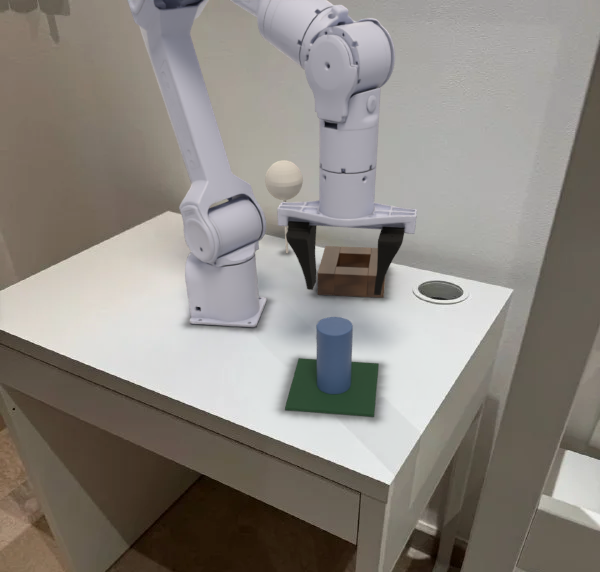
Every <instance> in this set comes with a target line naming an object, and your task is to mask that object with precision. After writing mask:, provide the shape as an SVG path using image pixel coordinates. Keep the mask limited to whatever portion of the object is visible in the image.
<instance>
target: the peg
mask: <svg viewBox="0 0 600 572" xmlns="http://www.w3.org/2000/svg"><path fill="white" fill-rule="evenodd" d="M353 326H354V325H353V323H352V322H351V321H350V320H349V319H347V318H345V317H342V316H341V317H340V316H328V317H323V318H322V319H320V320H319V321H317V323H316V326H315V327H316V328H315V329H316V331H315V333H316V334H315V335H316V336H315V337H316V338H315V339H316V340H315V341H316V342H315V343H316V345H315V346H316V347H315V348H316V359H317V387H318V388H319V389H320V390H321V391H322V392H324V393H327V394H341V393H344V392H346V391H347V390H348V389H349V388H350V386H351V365H352V362H353V360H352V359H353V335H354V332H353V329H354V327H353Z"/></svg>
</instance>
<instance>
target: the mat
mask: <svg viewBox="0 0 600 572" xmlns="http://www.w3.org/2000/svg"><path fill="white" fill-rule="evenodd" d="M379 365H380V363H378V362H363V361H362V362H361V361H352V365H351V386H350V388H349V389H348V390H347V391H346V392H344V393H341V394H327V393H324V392H322V391H321V390H320V389H319V388H318V387H317V358H301V357H300V358H298V359H297V362H296V366H295V370H294V374H293V376H292V377H293V378H292V381H291V384H290V387H289V392H288V396H287V399H286V403H285V406H284V410H285V411H291V412H293V411H294V412H306V413H318V414H331V415H344V416H357V417H370V418H375V413H376V412H375V410H376V401H377V400H376V398H377V389H378V377H379V367H380V366H379Z"/></svg>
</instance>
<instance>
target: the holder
mask: <svg viewBox="0 0 600 572" xmlns="http://www.w3.org/2000/svg"><path fill="white" fill-rule="evenodd" d="M377 259H378V247H367V246H366V247H364V246H340V245H339V246H338V245H337V246H335V245H324V250H323V253H322V256H321V259H320V263H319V266H318V269H317V272H316V282H317V295H318V296H320V295H322V296H336V297H337V296H339V297H358V298H379V299H380V298H382V299H383V298H385V287H386V278H387V277H386V276H387V274H386V275H385V278H384V281H383V285H382V291H381V295H374V287H375V281H376V274H377Z"/></svg>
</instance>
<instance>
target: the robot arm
mask: <svg viewBox="0 0 600 572" xmlns="http://www.w3.org/2000/svg"><path fill="white" fill-rule="evenodd" d="M209 1H210V0H126V2H127V4H128V7H129V11H130V12H131V16H132V19H133V22H134V23H135V24H136V25H137V26H138V27H139V31H140V34H141V38H142V40H143V43H144V46H145V50H146V52H147V55H148V58H149V61H150V65H151V68H152V71H153V73H154V77H155V79H156V82H157V85H158V88H159V91H160V94H161V97H162V100H163V103H164V107H165V109H166V112H167V116H168V119H169V122H170V124H171V127H172V131H173V134H174V136H175V140H176V143H177V145H178V148H179V152H180V154H181V158H182V161H183V164H184V166H185V170H186V173H187V176H188V179H189V182H190V187H189V189H188V191H187V192H186V194H185V196H184V197H183V199H182V200H181V202H180V204H179V206H178V208H179V212H180V215H181V219H182V224H183V238H184V241H185V244H186V246H187V248H188V250H189V251H190V252H189V253H188V255H187V257H186V261H185V264H184V265H185V266H184V281H185V287H186V293H187V301H188V306H189V312H190V318H189V323H190V324H193V325H209V326H227V327H241V328H242V327H243V328H256V327H257V326H258V323H259V322H260V318H261V316H262V313H263V312H264V309H265V306H266V304H267V302H268V298H267V297H266V296H259V283H258V272H257V257H256V253H257V251H258V250H260V242H259V241H261V240H262V239H263V238H264V237H265V235H266V232H267V219H266V215H265V213H264V210H263V208H262V206H261V205H260V203H259V202H258V200H257V199H256V196H255V194H254V191H253V187H252V184H251V183H249V182H248V181H246V180H245V179H243V178H241V177H239V176H238V175H236V174H234V173H233V171H232V168H231V165H230V161H229V158H228V154H227V151H226V148H225V145H224V142H223V141H224V140H223V139H222V135H221V132H220V129H219V125H218V122H217V118H216V115H215V112H214V108H213V105H212V102H211V98H210V96H209V92H208V89H207V85H206V82H205V79H204V76H203V72H202V69H201V65H200V62H199V59H198V56H197V53H196V49H195V45H194V43H193V39H192V35H191V31H192V28H193V25H194V22H195V21H196V19H198V18H199V17H200V16H201V15H202V13H203V11H204V9H205V8H206V6H207V4H208V3H209ZM229 1H230V2H232V3H233V4H234V5H236V6H238V7H239V8H240V9H242V10H243V11H245V12H247V13H248V14H250V15H252V16H253V17H255V18H256V23H257V29H258V32H259V34H260V36H261V38H262V39H263V40H264V41H265V42H267V43H268V44H270V46H272V47H273V48H275V49H276V50H277V51H278V52H280V53H281V54H283V55H284V56H285V57H286V58H288V59H289V60H291V61H292V62H293V63H294V64H296V65H297V66H298V67H300V68H301V69H302V70H304V73H305V74H304V75H305V78H306V81H307V83H308V86H309V88H310V90H311V92H312V93H313V99H314V112H315V113H316V116H317V118H318V173H319V174H318V197H319V198H318V200H307V201H286V202H283V201H281V202H280V204H279V205H278V206H277V208H276V213H277V226H278V227H285V226H287V231H288V232H287V233H286V238H287V242H288V246H289V247H290V248H291V249H292V251H293V253H294V255H295V257H296V259H297V261H298V263H299V265H300V268H301V271H302V274H303V277H304V281H305V285H306V290H308V291H313V290H314V288H315V286H316V283H317V259H316V243H317V240H316V239H317V227H332V228H333V227H334V228H347V229H348V228H351V229H366V230H367V229H369V230H380V233H379V236H378V239H377V248H378V259H377V274H376V281H375V287H374V295H381V291H382V285H383V281H384V278H385V279H386V277H385V275H386V276H387V273H388V270H389V268H390V266H391V264H392V262H393V260H394V259H395V257H396V255H397V253H398V252H399V250H400V249H401V246H402V244H403V242H404V236H405V234H407V235H409V234H410V235H414V234H415V233H416V229H417V228H416V226H417V219H418V217H417V216H418V209H417V208H409V207H407V208H406V207H402V206H401V207H400V206H395V205H391V204H390V205H389V204H384V203H379V202H375V197H376V196H375V195H376V179H377V177H376V176H377V162H378V146H379V145H378V144H379V127H380V125H379V123H380V110H381V109H380V107H381V88H382V87H384V85H385V84H387V82H388V81H389V80H390V78H391V76H392V74H393V72H394V68H395V64H396V63H395V62H396V50H395V44H394V40H393V38H392V36H391V34H390V33H389V31H388V29H386V27H384V26H383V25H382V24H381V22H380V20H379V19H377V18H374V17H365V18H361V19H359V20H357V21H356V20H354V19H353V18H352V17H351V16H350V14H349V12H350V11H349V9H348V8H347V7H346V6H344V5H343V4H335V5H334V4H333V3H332V2H330V1H328V0H229ZM225 200H227V201H225ZM222 201H225V202H222ZM220 202H222V203H220ZM216 203H219V204H216ZM215 204H216V205H215ZM213 205H214V206H213Z"/></svg>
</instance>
